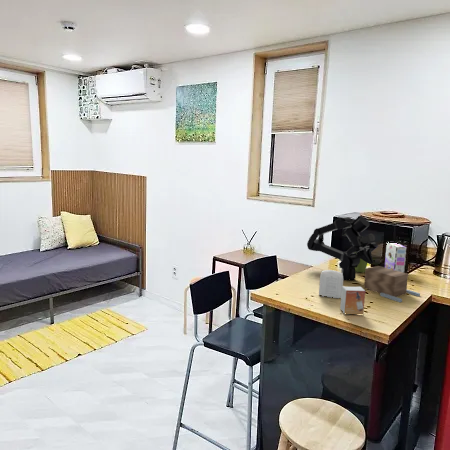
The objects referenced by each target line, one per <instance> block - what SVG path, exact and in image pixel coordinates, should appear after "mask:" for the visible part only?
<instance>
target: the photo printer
mask: <svg viewBox="0 0 450 450" xmlns="http://www.w3.org/2000/svg"><path fill="white" fill-rule="evenodd" d="M342 286H344V280H343V273H341V271H338V270H333V269H332V270H331V269H326V270H322V271H321V272H320V276H319V287H318V296H319V295H322V296H321V297H324V296H327V297H326V298H332V297H333V299H339V298H341V293H342Z"/></svg>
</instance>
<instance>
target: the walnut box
mask: <svg viewBox="0 0 450 450" xmlns="http://www.w3.org/2000/svg"><path fill="white" fill-rule="evenodd" d="M364 273H365V274H364V284H363V289H365V290H369V291H373V292H375V293H378V294H380V293H385V294H388V295H391V296H394V297H397V298H399V297H402V296H404V295H406V294H407V293H406V290H408V289H407V288H408V279H409V273H407V272H404V273H403V272H399V271H396V270H392V269H388V268H385V266H379V265H376V266H372V267H366V270H365V272H364Z"/></svg>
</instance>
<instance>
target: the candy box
mask: <svg viewBox="0 0 450 450" xmlns="http://www.w3.org/2000/svg"><path fill="white" fill-rule="evenodd" d="M387 242H388V243H387ZM387 242H386V244H387V245H386V247H385V257H384V258H385V260H384V268H388V269H392V270H396V271H399V272H403V273H405V269H406V268H405V266H406V259H407V258H406V256H407V249H408V248H407V246H404V245H403V244H400V243H399V244H397V243H398V242H397V243H389V241H387Z"/></svg>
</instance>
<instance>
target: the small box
mask: <svg viewBox="0 0 450 450" xmlns="http://www.w3.org/2000/svg"><path fill="white" fill-rule="evenodd" d="M365 298H366V289H365V288H364V287H362V286H345V285H343V286H342V293H341V299H340V308H339V310H340V309H341V310H342V311H343V313H344V314H345V313H346V314H363V315H364V310H365V301H366V300H365ZM341 310H340V311H341ZM343 313H342V314H343ZM344 314H343V315H344Z"/></svg>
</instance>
